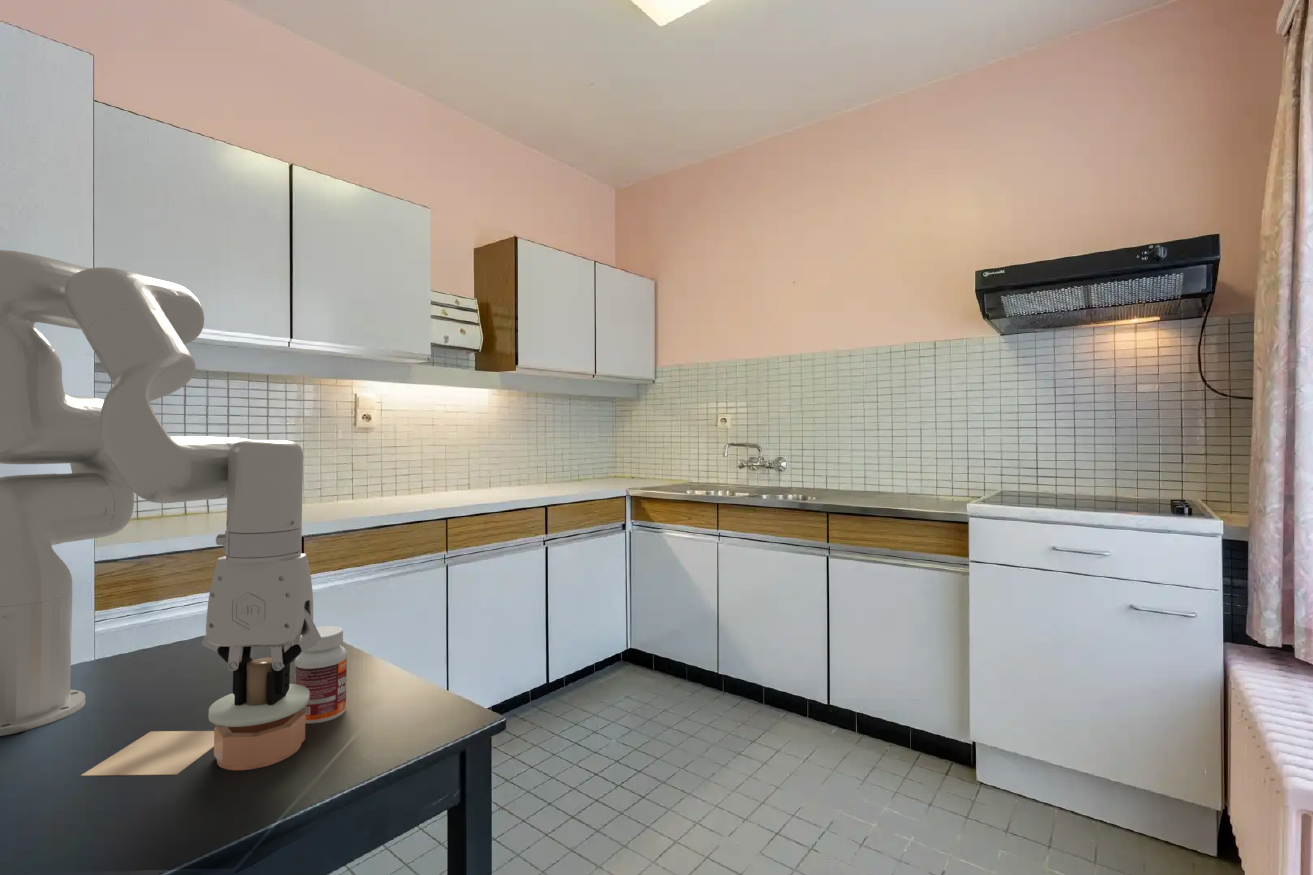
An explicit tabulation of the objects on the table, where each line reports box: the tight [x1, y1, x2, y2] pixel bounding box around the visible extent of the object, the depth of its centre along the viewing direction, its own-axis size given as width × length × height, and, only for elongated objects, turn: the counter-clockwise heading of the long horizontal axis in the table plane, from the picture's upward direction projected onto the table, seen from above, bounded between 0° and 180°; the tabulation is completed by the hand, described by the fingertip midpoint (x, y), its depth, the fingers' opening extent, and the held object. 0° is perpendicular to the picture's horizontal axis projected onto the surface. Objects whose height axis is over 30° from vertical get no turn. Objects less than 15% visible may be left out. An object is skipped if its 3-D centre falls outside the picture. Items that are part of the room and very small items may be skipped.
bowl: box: [213, 710, 306, 771], centre depth 73 cm, size 8×8×4 cm
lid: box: [208, 657, 310, 727], centre depth 73 cm, size 10×10×5 cm
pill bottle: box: [294, 625, 348, 724], centre depth 83 cm, size 6×6×11 cm
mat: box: [80, 730, 214, 777], centre depth 72 cm, size 10×10×1 cm
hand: (261, 698), depth 73 cm, fingers closed on lid, 2 cm apart
